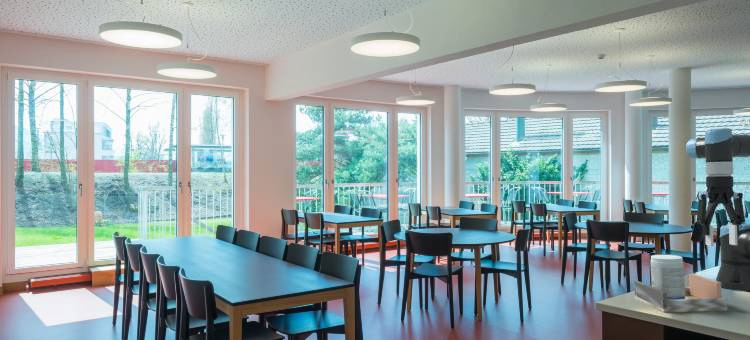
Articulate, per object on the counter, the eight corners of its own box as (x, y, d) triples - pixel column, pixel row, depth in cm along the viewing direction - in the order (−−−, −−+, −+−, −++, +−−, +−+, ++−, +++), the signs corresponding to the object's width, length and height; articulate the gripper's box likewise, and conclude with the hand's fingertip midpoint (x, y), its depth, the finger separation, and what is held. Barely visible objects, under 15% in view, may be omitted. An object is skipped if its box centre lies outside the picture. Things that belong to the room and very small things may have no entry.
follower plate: (694, 294, 177) (693, 273, 177) (721, 304, 163) (721, 282, 163) (689, 294, 177) (689, 273, 177) (717, 304, 163) (716, 282, 163)
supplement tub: (691, 301, 169) (689, 256, 169) (676, 306, 163) (674, 260, 163) (660, 296, 177) (659, 253, 177) (645, 300, 171) (644, 256, 171)
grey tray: (692, 296, 179) (691, 279, 179) (727, 310, 161) (726, 291, 161) (634, 298, 178) (634, 281, 178) (663, 312, 161) (663, 293, 161)
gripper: (741, 174, 174) (743, 242, 174) (682, 176, 174) (684, 244, 174) (758, 174, 166) (760, 245, 166) (696, 176, 166) (698, 247, 166)
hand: (721, 244), depth 170 cm, fingers open, 7 cm apart
